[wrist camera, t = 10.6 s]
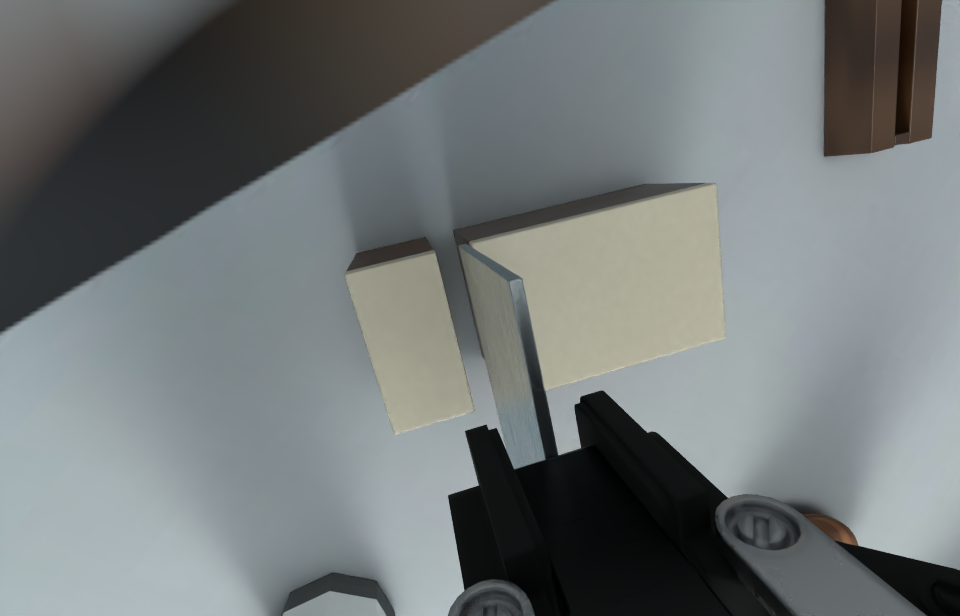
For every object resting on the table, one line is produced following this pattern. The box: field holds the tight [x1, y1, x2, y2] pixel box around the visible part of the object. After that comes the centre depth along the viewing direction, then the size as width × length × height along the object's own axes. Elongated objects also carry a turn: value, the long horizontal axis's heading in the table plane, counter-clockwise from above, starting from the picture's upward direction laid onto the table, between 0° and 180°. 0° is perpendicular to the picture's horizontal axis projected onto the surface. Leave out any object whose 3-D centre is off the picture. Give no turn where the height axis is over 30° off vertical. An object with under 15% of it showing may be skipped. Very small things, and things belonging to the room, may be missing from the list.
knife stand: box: [824, 0, 942, 156], centre depth 26 cm, size 12×4×3 cm, turn 12°
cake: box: [453, 183, 726, 390], centre depth 25 cm, size 8×12×6 cm, turn 102°
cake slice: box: [345, 237, 475, 434], centre depth 24 cm, size 8×4×6 cm, turn 12°
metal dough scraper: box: [459, 244, 733, 616], centre depth 11 cm, size 10×2×12 cm, turn 12°
